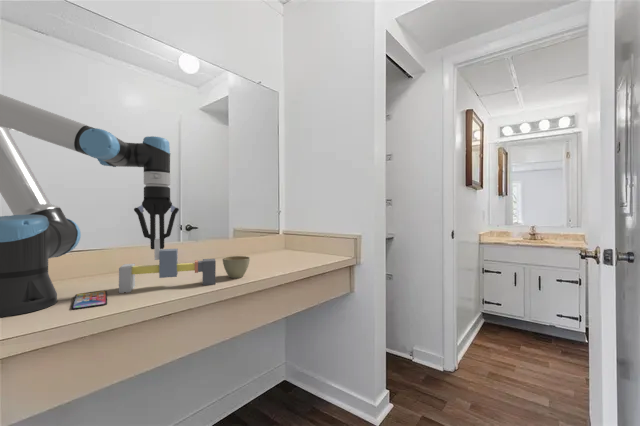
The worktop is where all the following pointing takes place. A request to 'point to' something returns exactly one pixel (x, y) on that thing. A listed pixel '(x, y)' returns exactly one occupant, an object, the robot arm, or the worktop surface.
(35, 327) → the worktop surface
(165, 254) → the sleeve
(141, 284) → the worktop surface
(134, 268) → the rail
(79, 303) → the smartphone
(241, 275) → the flower pot
